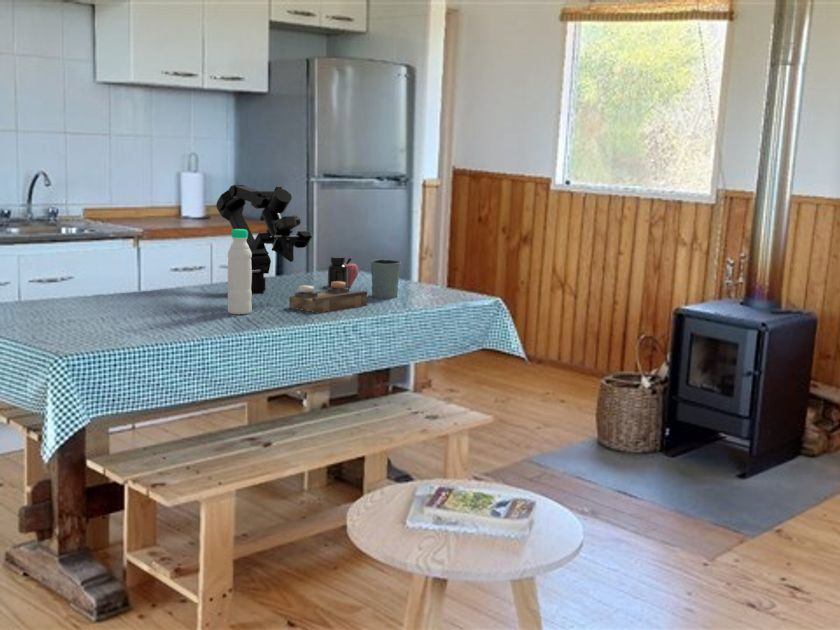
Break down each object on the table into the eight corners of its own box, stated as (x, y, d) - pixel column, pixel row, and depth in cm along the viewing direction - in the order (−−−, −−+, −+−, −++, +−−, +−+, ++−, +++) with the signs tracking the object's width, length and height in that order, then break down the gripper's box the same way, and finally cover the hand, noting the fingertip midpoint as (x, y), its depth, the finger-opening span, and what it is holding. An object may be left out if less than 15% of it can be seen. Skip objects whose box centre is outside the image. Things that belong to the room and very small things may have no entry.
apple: (333, 284, 355) (334, 256, 353) (357, 284, 356) (358, 257, 354) (334, 288, 345) (334, 260, 343) (358, 288, 346) (359, 260, 344)
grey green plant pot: (394, 293, 338) (395, 259, 336) (403, 298, 329) (404, 263, 327) (366, 294, 335) (367, 259, 333) (374, 299, 326) (375, 263, 323)
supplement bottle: (348, 290, 341) (349, 256, 339) (345, 293, 335) (346, 258, 333) (329, 289, 342) (330, 255, 340) (325, 292, 335) (326, 257, 333)
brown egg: (330, 301, 314) (331, 283, 313) (330, 298, 318) (331, 281, 317) (345, 301, 314) (345, 283, 313) (345, 299, 319) (345, 281, 318)
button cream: (298, 306, 303) (298, 287, 302) (298, 303, 308) (299, 285, 307) (313, 306, 304) (313, 287, 303) (313, 303, 308) (313, 285, 307)
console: (289, 307, 305) (289, 292, 304) (339, 300, 322) (340, 285, 321) (316, 313, 297) (316, 298, 296) (366, 305, 314) (367, 290, 313)
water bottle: (231, 315, 289) (231, 230, 285) (224, 311, 295) (224, 228, 291) (254, 314, 292) (255, 230, 288) (247, 310, 299) (247, 228, 294)
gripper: (257, 207, 306) (275, 246, 299) (309, 205, 317) (327, 243, 311) (245, 229, 313) (262, 268, 307) (296, 227, 325) (313, 265, 318)
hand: (291, 260), depth 310 cm, fingers closed
